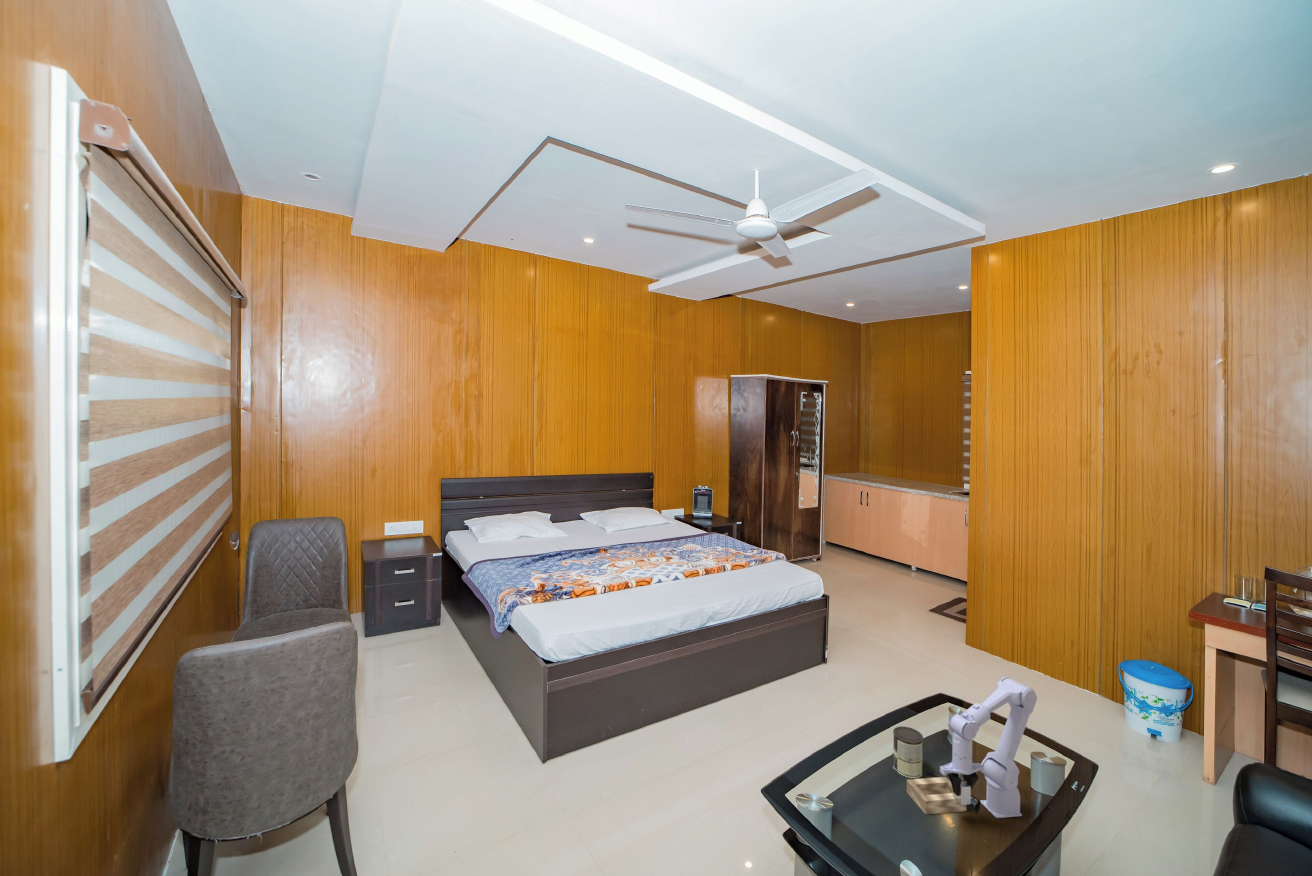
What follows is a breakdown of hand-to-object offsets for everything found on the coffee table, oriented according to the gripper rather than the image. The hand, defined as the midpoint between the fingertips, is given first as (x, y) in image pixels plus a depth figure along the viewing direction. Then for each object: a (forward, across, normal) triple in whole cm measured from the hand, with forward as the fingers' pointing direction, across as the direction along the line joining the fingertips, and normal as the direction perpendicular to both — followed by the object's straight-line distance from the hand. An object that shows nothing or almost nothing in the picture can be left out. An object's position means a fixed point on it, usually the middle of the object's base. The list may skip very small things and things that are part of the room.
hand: (961, 793), depth 176 cm
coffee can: (+9, +3, -26) cm, 28 cm away
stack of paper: (+2, 0, 0) cm, 2 cm away
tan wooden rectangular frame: (+9, +3, -9) cm, 13 cm away
